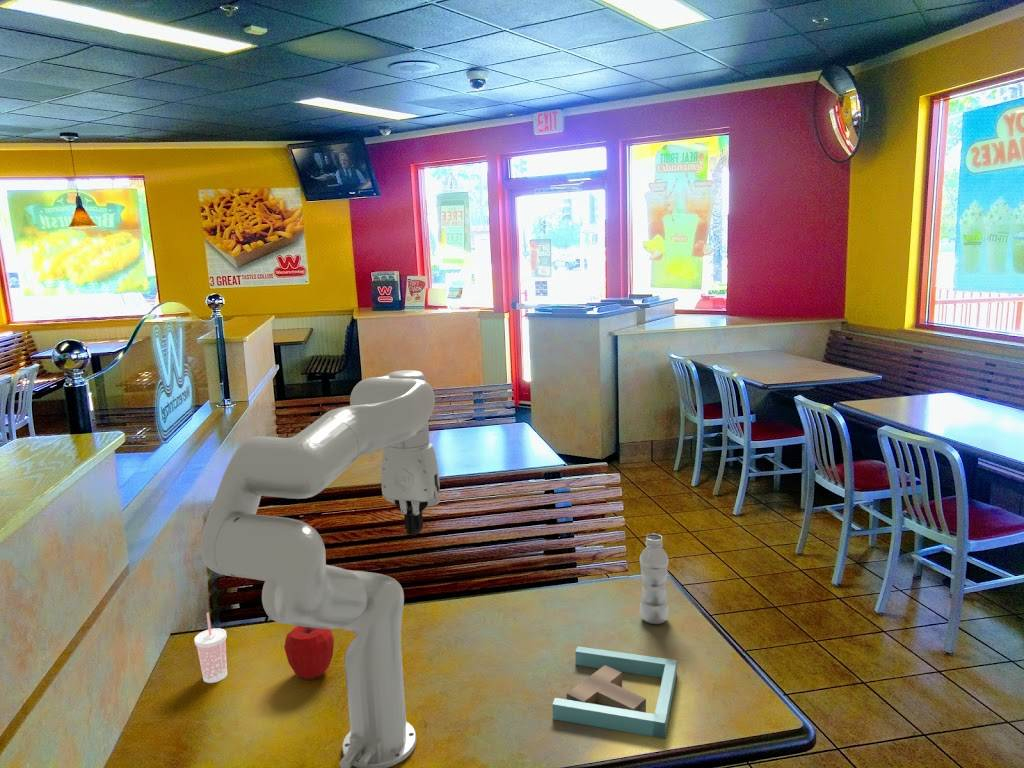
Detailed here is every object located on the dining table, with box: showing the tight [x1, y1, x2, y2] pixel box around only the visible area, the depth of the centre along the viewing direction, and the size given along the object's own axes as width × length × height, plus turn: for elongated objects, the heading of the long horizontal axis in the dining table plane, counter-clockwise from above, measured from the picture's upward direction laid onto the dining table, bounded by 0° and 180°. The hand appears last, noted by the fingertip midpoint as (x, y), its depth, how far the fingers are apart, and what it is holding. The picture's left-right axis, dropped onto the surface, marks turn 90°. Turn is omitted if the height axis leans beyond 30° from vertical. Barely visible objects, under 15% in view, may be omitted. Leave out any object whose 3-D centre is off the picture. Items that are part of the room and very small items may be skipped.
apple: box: [283, 626, 335, 681], centre depth 149 cm, size 10×10×11 cm
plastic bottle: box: [639, 533, 670, 625], centre depth 164 cm, size 6×7×20 cm
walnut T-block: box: [566, 665, 647, 713], centre depth 136 cm, size 12×12×3 cm
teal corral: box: [551, 646, 678, 739], centre depth 139 cm, size 20×20×3 cm
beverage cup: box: [193, 612, 228, 684], centre depth 149 cm, size 6×6×14 cm
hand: (414, 532), depth 138 cm, fingers closed
